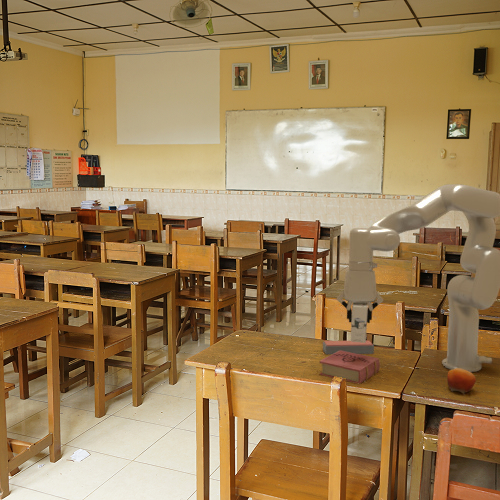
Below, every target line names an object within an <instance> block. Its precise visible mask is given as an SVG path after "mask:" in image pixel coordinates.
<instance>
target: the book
mask: <svg viewBox="0 0 500 500" xmlns="http://www.w3.org/2000/svg"><path fill="white" fill-rule="evenodd" d="M319 364H321V369H322V371H321V372H319V375H320V376H325V377H329V378H333V377H334V376H337V377H342V378H346V380H347V381H346V382H349V381H350V382H349V383H353V382H354V383H353V384H357V383H359V384H358V385H361V384H362V383H364V382H365V380H366V382H367V381H368V379H370V378H371V377H372V376H376V374H377V373H378V372H379V371H380V367H381V366H380V364H381V363H380V359H379V357H374V356H369V355H366V354H355V353H350V352H345V351H341V350H340V351H338V352H336V353H334V354H329V356H326V357H325V358H323V359H320V360H319ZM333 379H334V378H333ZM363 381H364V382H363ZM360 383H361V384H360Z"/></svg>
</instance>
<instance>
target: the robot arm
mask: <svg viewBox="0 0 500 500" xmlns="http://www.w3.org/2000/svg"><path fill="white" fill-rule="evenodd" d="M451 211H454V212H455V211H456V212H462V213H463V215H464V216H465V218H466V220H467V223H468V232H467V236H466V240H465V243H464V245H463V250H462V253H461V255H460V261H459V262H460V266H461V268H462V269H463V270H464V271H467V272H469V273H471V274H474V275H475V276H470V275H465V274H460V275H456V276H454V277H453V278H451V279H450V281H449V282H448V284H447V290H446V292H447V299H448V329H447V348H446V349H447V353H446V358H444V359H442V361H441V363H442V364H443V365H442V364H441V365H442V366H443V367H444V366H445V367H444V368H447V369H449V370H453V369H456V368H460V369H464V370H467V371H469V372H471V373H474V372H478V371H480V370H481V369H482V364H483V363H484V364H493V363H492V362H493V358H492V357H486V355H479V354H478V345H479V344H478V342H479V341H478V339H479V324H480V316H479V315H480V314H479V310H486V309H490V307H492V306H493V305H494V303H495V302H496V300H497V298H498V295H499V291H500V250H499V249H497V248H495V247H494V243H495V239H496V234H497V227H496V223H495V220H494V219H495V218H498V217H500V193H498V192H496V191H493V190H488V189H483V188H479V187H475V186H471V185H467V184H458V183H457V184H456V183H455V184H454V183H453V184H452V183H451V184H450V183H449V184H444V185H441V186H438V187H437V188H435V189H434V190H432V191H431V192H430V193H428V194H427V195H425V196H423V197H421V198H420V199H419V200H417V201H416V202H414V203H412V204H411V205H408V206H406V207H404V208H402V209H399V210H397V211H395V212H393V213H390V214H388V215H386V216H385V217H382V219H380V220H378V221H376V222H375V223H373V224H372V225H371V226H369V227H368V228H366V227H355V228H352V229H351V230H350V231H349V243H348V244H349V249H348V250H349V252H348V253H349V254H348V269H346V271H345V275H344V284H343V285H344V286H343V290H342V291H341V292H340V293H339V295H337V297H336V301H337V302H338V303H340V304H341V305H342V306H343V307H344V308H345V309H346V320H348V323H351V321H352V304H353V302H367V304H368V311H367V324H370V323H371V321H372V320H373V311H374V309H375V308H377V307H378V305H380V304H381V303H383V302H384V298H383V297H382V296H381V295H380V294H379V292H378V291H377V280H376V272H375V270H374V269H375V268H378V263H376V262H374V251H376V252H377V251H378V252H379V251H380V252H392V251H395V250H396V249H397V248H398V247H399V246H400V244H401V237H400V234H402V233H406V232H411V231H414V230H415V231H416V230H420V229H423V228H426V227H428V226H430V225H431V224H432V223H434V222H435V221H437V220H438V219H441V217H443V216H444V215H446V214H448V213H449V212H451ZM372 302H373V303H372Z"/></svg>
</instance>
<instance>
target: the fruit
mask: <svg viewBox="0 0 500 500" xmlns="http://www.w3.org/2000/svg"><path fill="white" fill-rule="evenodd" d="M446 380H447V385H448V388H449V390H450V391H451V392H460V393H462V394H463V396H465V393H469V392H470V391H471V390H472V388H473V387H474V386H475V385H476V384H475V383H476V381H477V379H476V376H475V374H474V373H473V372H469V371H467V370H464V369H460V368H456V369H453V370H451V369H449V371H447V379H446Z"/></svg>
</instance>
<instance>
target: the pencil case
mask: <svg viewBox="0 0 500 500" xmlns="http://www.w3.org/2000/svg"><path fill="white" fill-rule="evenodd" d="M340 350H341V351H345V352H350V353H355V354H360V355H366V354H367V355H368V354H371V355H372V354H373V355H374V354H375V345H374V344H373V343H372V342H371V341H370V340H366V342H365V343H361V342H351V340H324V341H323V342H322V351H323V352H324V354H325V355H332V354H334V353H336V352H338V351H340Z"/></svg>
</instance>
